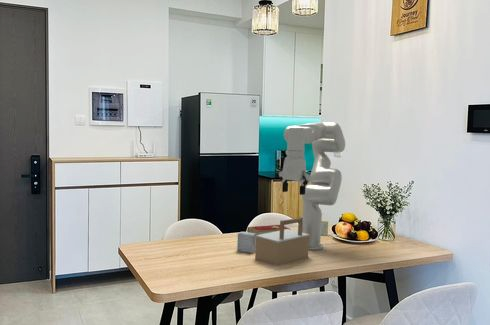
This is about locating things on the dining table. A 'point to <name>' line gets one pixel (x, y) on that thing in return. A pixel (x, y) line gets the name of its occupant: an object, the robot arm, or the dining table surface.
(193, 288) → the dining table surface
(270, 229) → the hardcover book
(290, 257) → the carton
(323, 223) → the candy box
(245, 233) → the medicine box
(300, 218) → the carton lid
